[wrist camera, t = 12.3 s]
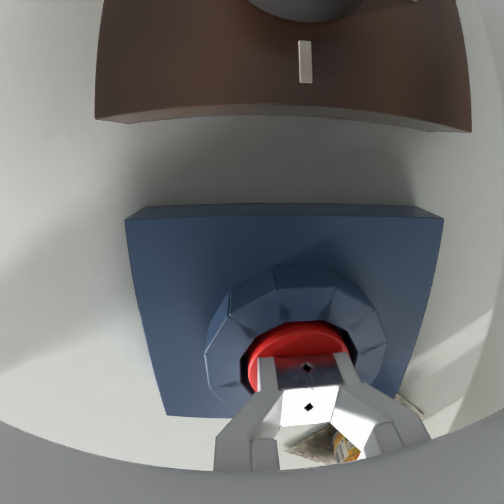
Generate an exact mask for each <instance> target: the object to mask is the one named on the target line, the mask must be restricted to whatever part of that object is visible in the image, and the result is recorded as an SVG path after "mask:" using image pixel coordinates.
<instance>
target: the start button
mask: <svg viewBox="0 0 504 504" xmlns="http://www.w3.org/2000/svg"><path fill="white" fill-rule="evenodd" d="M344 351H346V352H347V353H348V355H349V352H348V349H347V347H346V345H345V343H344V341H343V339H342V336H341V334H340V332H339V330H338V328H337V326H335V325H333V324H330V323H328V322H326V321H324V320H313V321H294V322H285V323H283V324H281V325H279V326H277V327H275V328H273V329H271V330H269V331H267V332H265V333H263V334H261V335H259V336H257V337H256V338H255V339H254V341H253V342H252V343H251V345H250V346H249V347H248V349H247V352H248V378H249V382H250V384H251V386H252V388H253V389H254V391H255V392H257V371H258V357H274V356H306V355H318V354H329V353H336V352H344ZM349 357H350V356H349Z"/></svg>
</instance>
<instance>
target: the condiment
mask: <svg viewBox="0 0 504 504" xmlns="http://www.w3.org/2000/svg"><path fill="white" fill-rule="evenodd" d="M394 400H396V401H397V402H399V403H401V404H402V405H404V406H406V407H407V408H409V409H411V410H413V411H414V412H416V413H418V415H419V417H420V419H421V420H422V419H424V418H426V417H425V416H424V415H423V414H422V413H421V412H420V411H418V410H417V409H416V408H415V407H414V406H413V405H412V404H410V403H409V402H408V401H407V400H405V399H404V398H403V397H402V396H401V395H399V394H398V393H397V394H396V397H395V399H394ZM285 452H288V453H291V454H295V455H298V456H301V457H303V458H307V459H310V460H313V461H315V462H318V463H321V464H323V465H332V464H338V463H344V462H349V461H354V460H357V459H358V457H359V455H360V453H361V451H360V450H359V449H358V448H357V447H356V446H355V445H354V444H352V443H351V442H350V441H349V440H348V439H347V438H346V437H345V436H344V435H343V434H342V433H341V432H339V431H338V430H337V429H336V428H335V427H334V426H333V425H332V424H331V423H330V424H329V425H328V426H327V427H326V428H324V429H323V430H321V431H318V432H316V433H315V434H314V435H312V436H309V437H308V438H306V439H304V440H303V441H301V442H300V443H299V444H297V445H296V446H294V447H292V448H290V449H288V450H286V451H285Z"/></svg>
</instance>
